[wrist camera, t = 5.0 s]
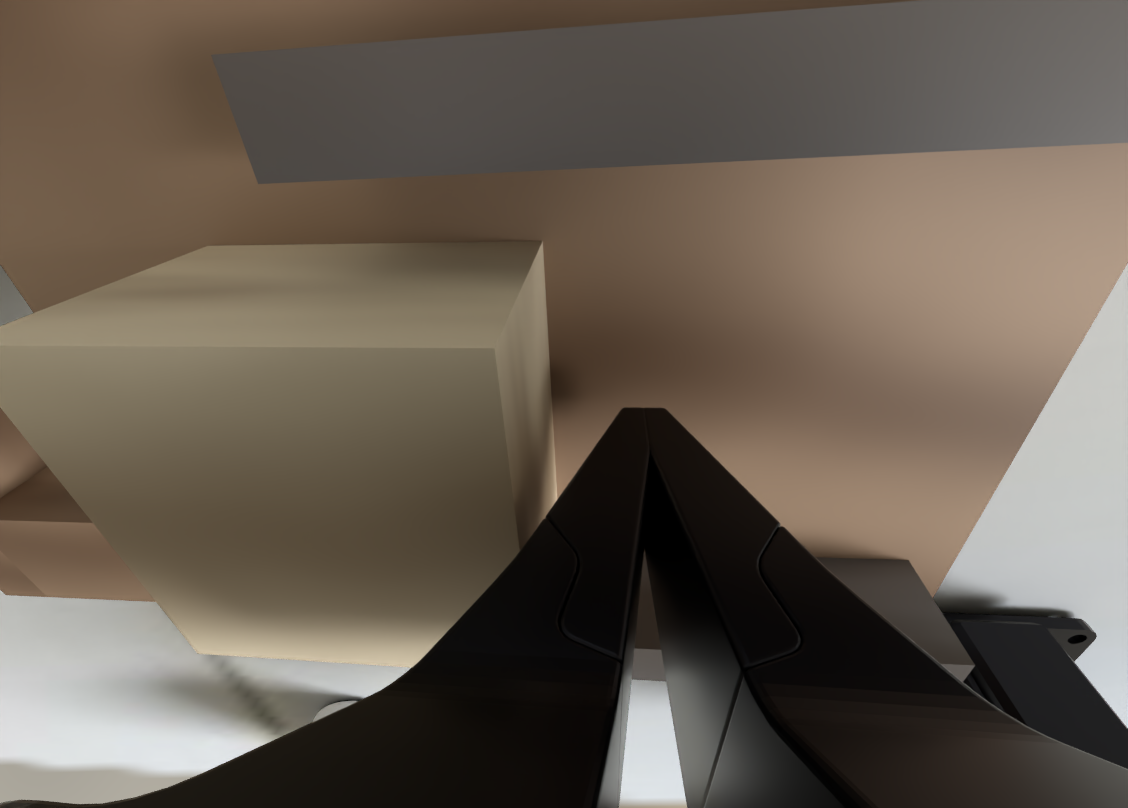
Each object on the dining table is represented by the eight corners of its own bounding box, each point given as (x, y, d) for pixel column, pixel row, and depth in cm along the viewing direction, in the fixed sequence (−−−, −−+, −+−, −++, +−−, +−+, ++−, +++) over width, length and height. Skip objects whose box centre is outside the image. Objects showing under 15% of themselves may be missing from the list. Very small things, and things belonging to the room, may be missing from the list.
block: (557, 502, 11) (534, 675, 8) (314, 494, 12) (197, 653, 8) (543, 241, 8) (494, 348, 5) (208, 246, 9) (-51, 344, 5)
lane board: (869, 559, 15) (968, 740, 11) (77, 535, 18) (-88, 673, 14) (1174, -140, 7) (2044, -493, 3) (-375, 13, 10) (-1137, -46, 5)
